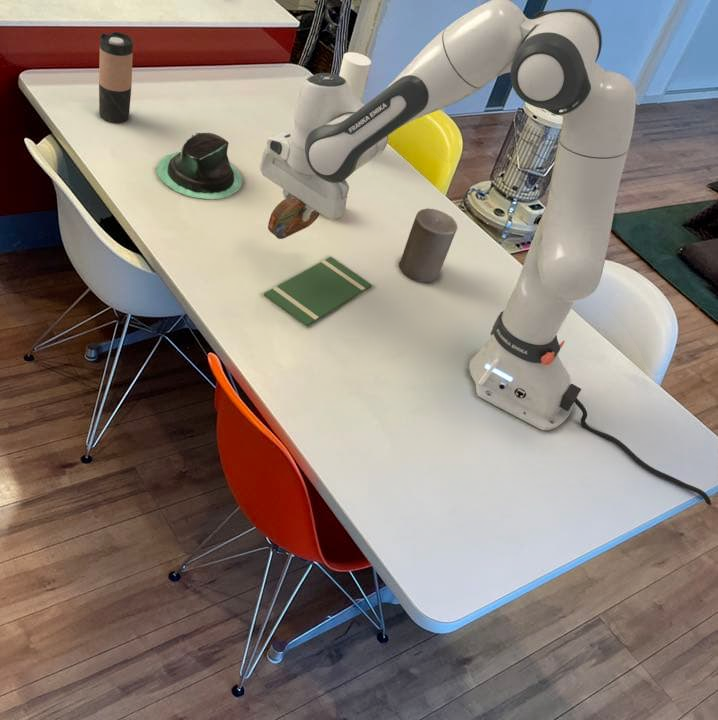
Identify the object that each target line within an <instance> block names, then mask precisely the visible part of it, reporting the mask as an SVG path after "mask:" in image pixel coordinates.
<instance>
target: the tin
mask: <svg viewBox="0 0 718 720" xmlns="http://www.w3.org/2000/svg"><path fill="white" fill-rule="evenodd" d="M305 206H306V204H305V203H304V202H302V201H301V200H299V199H298V198H296V197H295V196H292V197H289V198H287V199H284V200H281V201H280V202H279V203H278V204H277V205H276V206H275V207H274V209H273V210H272V212H271V214H270V216H269V220H268V224H267V229H268V231H269V232H270V233H271V234H272V235H273V236H274V237H276V239H278V240H283V239H286V238H288V237H290V236H292V235H295V234H296V233H298V232H301V231H302V230H305V229H307V228H309V227H310V226H311V225H312V224H314V222H315V221H316V220H317V219H318V217H319V216H320V215H321V214H320V213H319V212H317V211H316V210H314V211H313V212H311V213H310V217H309V220H307V221H305V222H304V221H302V220H301V219H299V216H300V215H299V213H300V211H303V210H305V209H306V210H307V208H306V207H305Z"/></svg>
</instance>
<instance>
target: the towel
mask: <svg viewBox="0 0 718 720" xmlns="http://www.w3.org/2000/svg"><path fill="white" fill-rule="evenodd" d="M372 286H373V284H372V283H370V282H369V281H367V280H366V279H364V278H363V277H361V276H360V275H358V274H357V273H355V272H354V271H353V270H351V269H350V268H348V267H347V266H345V265H344V264H343V263H341V262H339V261H338V260H337V259H335V258H334V257H332V256H329V257H327V258H325V259H323V260H321V261H320V262H318V263H316V264H314V265H313V266H311V267H309V268H307V269H306V270H303V271H302V272H300V273H298V274H296V275H294V276H292V277H291V278H289V279H287V280H286V281H284V282H282V283H280V284H278V285H276V286H273V287H272V288H271V289H269V290H267V291H265V292H264V293H263V296H264V297H266V298H267V299H268V300H270V301H271V302H273V303H274V304H275V305H276V306H278V307H279V308H280V309H282V310H284V311H285V312H286V313H288V314H289V315H290V316H291V317H293V318H294V319H296V320H297V321H299V322H300V323H301V324H303V326H305V327H308V326H311V325H312V324H313V323H315V322H317V321H318V320H320V319H322V318H323V317H325V316H326V315H328V314H330V313H331V312H333V311H334V310H336V309H338V308H339V307H341V306H342V305H344V304H346V303H347V302H349V301H351V300H353V298H355V297H357V296H358V295H360V294H362V293H363V292H365V291H367V290H368V289H370V288H371V287H372Z"/></svg>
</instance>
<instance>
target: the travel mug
mask: <svg viewBox="0 0 718 720" xmlns="http://www.w3.org/2000/svg"><path fill="white" fill-rule="evenodd" d="M133 53H134V40H133V38H132V37H131V36H129V35H128V34H125V33H123V32H119V31H112V32H111V33H105V32H102V33H101V34H100V37H99V63H98V64H99V67H98V111H99V117H100V118H101V119H102V120H103V121H105V122H108V123H112V124H123V123H126V122H127V121H128V120H129V118H130V112H131V111H130V109H131V97H132V85H133V83H132V81H133V58H134V56H133Z"/></svg>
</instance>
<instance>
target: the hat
mask: <svg viewBox="0 0 718 720" xmlns="http://www.w3.org/2000/svg"><path fill="white" fill-rule="evenodd" d="M228 148H229V141H228V140H227V139H225V138H224V137H222V136H220V135H218V134H215V133H212V132H195V135H194V134H191V137H190V138H188V139H186V140H185V141H184V142H183V144H182V147H181V150H180V151H178V152H177V151H176V152H174V153H170V154H167V155H165V156H163V157H162V158H161V159H160V160H159V162H158V164H157V167H156V172H157V176H158V178H159V179H160V180H161V182H162V183H163V184H164V185H165V186H167V187H169V188H170V189H171V190H173V191H175V192H176V193H179V194H182V195H184V196H186V197H192V198H196V199H206V200H216V199H217V200H218V199H224V198H228V197H231V196H232V195H235V193H237V192H238V191H239V190H240V189H241V187H242V184H243V179H242V175H241V174H240V173H241V172H240V171H238V169H237V168H236V167H235V166H234V165H232V164H231V163H230V160H229V156H228Z"/></svg>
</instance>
